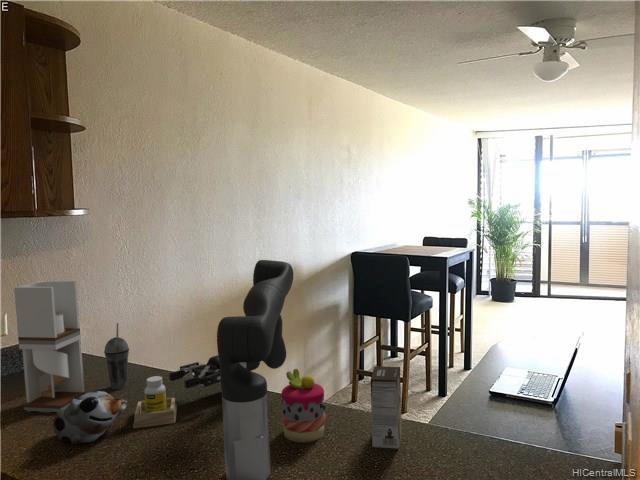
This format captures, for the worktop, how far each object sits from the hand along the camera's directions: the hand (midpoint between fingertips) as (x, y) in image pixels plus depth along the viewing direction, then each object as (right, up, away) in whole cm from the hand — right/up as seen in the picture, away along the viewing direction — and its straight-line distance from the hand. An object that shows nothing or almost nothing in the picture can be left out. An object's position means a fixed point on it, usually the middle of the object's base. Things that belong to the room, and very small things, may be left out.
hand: (177, 380), depth 141 cm
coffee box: (+55, -8, -21) cm, 59 cm away
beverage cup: (-24, -7, +19) cm, 31 cm away
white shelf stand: (-37, -9, +7) cm, 39 cm away
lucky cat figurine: (-18, -10, -13) cm, 24 cm away
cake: (+35, -8, -16) cm, 40 cm away
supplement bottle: (-5, -8, -4) cm, 10 cm away
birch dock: (-5, -8, -4) cm, 10 cm away
